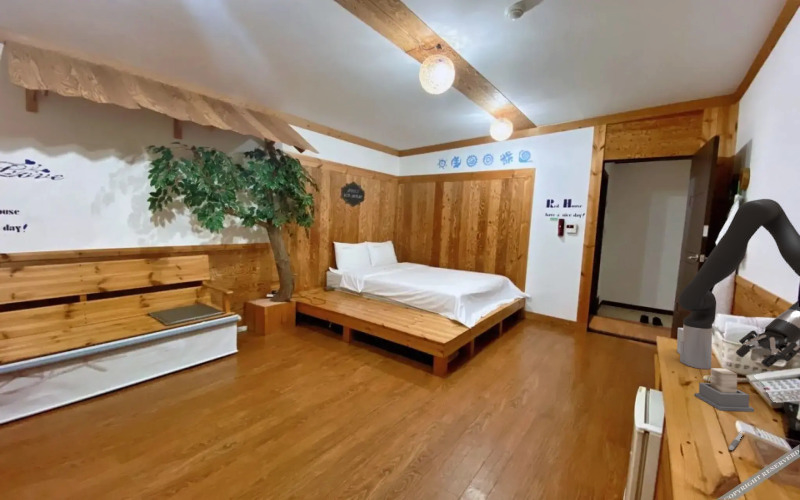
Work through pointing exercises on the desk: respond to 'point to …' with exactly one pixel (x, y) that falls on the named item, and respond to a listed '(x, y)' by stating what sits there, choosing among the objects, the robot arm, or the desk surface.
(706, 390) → the pocket stand
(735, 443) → the pen
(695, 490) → the desk surface
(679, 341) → the skincare box
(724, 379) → the cream block
